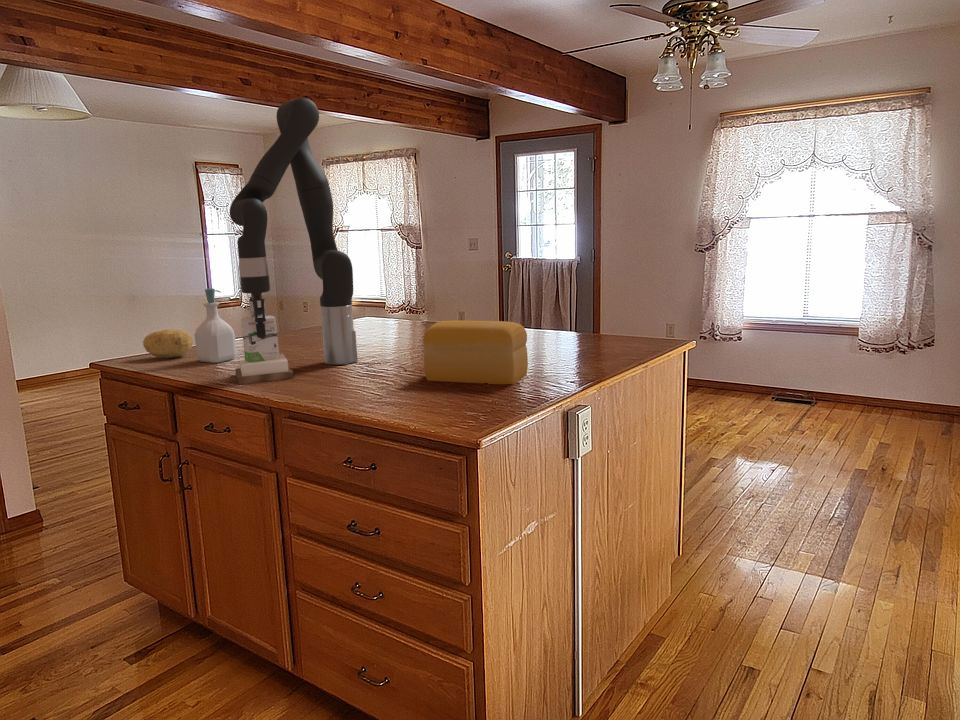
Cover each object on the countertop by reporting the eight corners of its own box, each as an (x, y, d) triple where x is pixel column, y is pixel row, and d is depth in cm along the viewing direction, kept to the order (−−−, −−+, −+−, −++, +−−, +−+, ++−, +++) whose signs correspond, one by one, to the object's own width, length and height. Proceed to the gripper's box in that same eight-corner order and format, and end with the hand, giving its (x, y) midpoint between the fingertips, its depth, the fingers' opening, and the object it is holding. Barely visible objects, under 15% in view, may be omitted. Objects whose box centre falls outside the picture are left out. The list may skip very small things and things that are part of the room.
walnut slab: (287, 373, 199) (286, 363, 199) (293, 382, 187) (292, 371, 186) (236, 378, 194) (235, 368, 194) (239, 388, 181) (238, 377, 181)
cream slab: (284, 364, 197) (283, 354, 197) (288, 371, 186) (287, 360, 186) (240, 368, 193) (239, 358, 193) (242, 376, 182) (241, 365, 182)
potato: (177, 361, 218) (174, 331, 217) (141, 360, 223) (137, 331, 221) (199, 355, 228) (196, 327, 226) (163, 354, 232) (160, 326, 230)
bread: (528, 374, 181) (527, 318, 178) (513, 385, 169) (511, 325, 166) (444, 370, 190) (441, 317, 187) (424, 381, 178) (421, 323, 175)
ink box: (248, 362, 185) (243, 319, 183) (244, 360, 190) (240, 317, 187) (280, 358, 190) (276, 316, 187) (276, 356, 194) (272, 314, 191)
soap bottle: (240, 359, 218) (232, 287, 214) (214, 364, 210) (205, 290, 206) (220, 356, 223) (213, 286, 219) (194, 362, 216) (186, 289, 211)
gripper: (271, 275, 180) (277, 338, 183) (266, 272, 193) (271, 331, 196) (241, 276, 177) (248, 340, 180) (237, 274, 190) (244, 333, 193)
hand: (260, 335), depth 188 cm, fingers open, 6 cm apart
